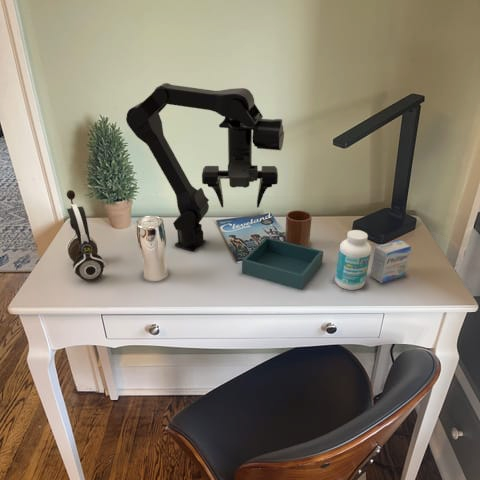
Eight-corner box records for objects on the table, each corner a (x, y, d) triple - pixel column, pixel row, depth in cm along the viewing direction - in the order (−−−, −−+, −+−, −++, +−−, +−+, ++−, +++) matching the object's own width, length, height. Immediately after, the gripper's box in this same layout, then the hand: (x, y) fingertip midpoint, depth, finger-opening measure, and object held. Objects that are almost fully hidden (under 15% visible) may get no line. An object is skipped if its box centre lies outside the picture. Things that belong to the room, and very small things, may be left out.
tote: (241, 273, 127) (241, 260, 125) (265, 250, 137) (266, 237, 135) (301, 290, 121) (302, 276, 119) (322, 264, 131) (323, 250, 129)
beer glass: (173, 270, 129) (168, 217, 120) (161, 284, 123) (155, 229, 114) (149, 266, 130) (143, 213, 121) (137, 279, 125) (128, 225, 116)
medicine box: (380, 284, 123) (387, 253, 118) (369, 275, 126) (374, 245, 121) (405, 276, 126) (412, 246, 121) (393, 268, 129) (399, 238, 124)
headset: (68, 257, 134) (51, 186, 122) (97, 252, 137) (83, 182, 125) (78, 289, 122) (61, 214, 110) (110, 282, 124) (96, 208, 112)
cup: (284, 250, 137) (286, 220, 132) (284, 239, 142) (286, 210, 137) (309, 251, 137) (312, 221, 131) (308, 239, 142) (311, 210, 137)
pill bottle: (339, 292, 120) (347, 243, 112) (330, 276, 126) (336, 228, 118) (369, 289, 121) (378, 240, 113) (358, 274, 127) (367, 226, 119)
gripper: (198, 157, 114) (201, 220, 123) (280, 158, 113) (277, 220, 123) (202, 142, 122) (205, 202, 132) (277, 142, 122) (275, 202, 132)
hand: (240, 206), depth 129 cm, fingers open, 9 cm apart
